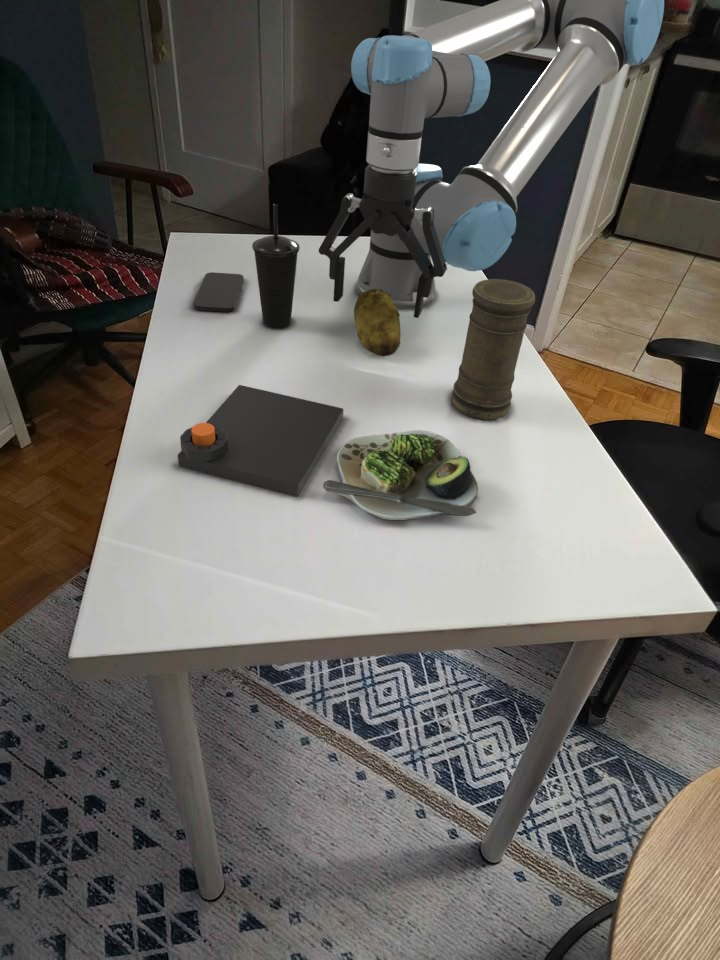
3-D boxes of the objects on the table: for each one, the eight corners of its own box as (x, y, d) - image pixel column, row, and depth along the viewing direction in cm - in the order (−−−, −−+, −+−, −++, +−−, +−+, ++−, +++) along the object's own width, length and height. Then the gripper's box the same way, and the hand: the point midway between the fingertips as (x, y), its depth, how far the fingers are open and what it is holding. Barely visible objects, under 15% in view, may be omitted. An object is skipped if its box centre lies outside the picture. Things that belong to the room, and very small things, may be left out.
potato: (347, 358, 106) (350, 313, 100) (353, 323, 115) (357, 280, 110) (398, 364, 105) (403, 318, 100) (400, 328, 115) (405, 285, 110)
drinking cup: (271, 336, 110) (269, 215, 97) (246, 319, 114) (241, 201, 101) (307, 325, 114) (309, 207, 101) (281, 309, 118) (280, 194, 105)
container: (510, 424, 94) (540, 308, 83) (448, 415, 95) (470, 299, 83) (509, 392, 101) (537, 281, 90) (452, 384, 102) (472, 273, 90)
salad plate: (336, 543, 73) (338, 513, 70) (307, 449, 86) (308, 420, 83) (494, 523, 78) (502, 494, 75) (443, 436, 91) (448, 408, 88)
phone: (191, 305, 114) (206, 271, 126) (191, 310, 115) (206, 275, 126) (233, 308, 115) (244, 274, 126) (233, 312, 115) (244, 278, 127)
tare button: (199, 431, 82) (198, 420, 81) (219, 436, 82) (218, 425, 81) (188, 444, 80) (187, 432, 79) (209, 449, 80) (208, 437, 79)
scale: (237, 395, 95) (236, 374, 93) (343, 419, 92) (344, 398, 90) (175, 467, 81) (171, 445, 79) (296, 499, 78) (296, 476, 76)
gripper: (300, 159, 92) (297, 300, 105) (473, 187, 88) (447, 331, 101) (318, 148, 98) (313, 283, 111) (481, 174, 93) (455, 312, 107)
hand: (377, 306), depth 106 cm, fingers open, 13 cm apart
